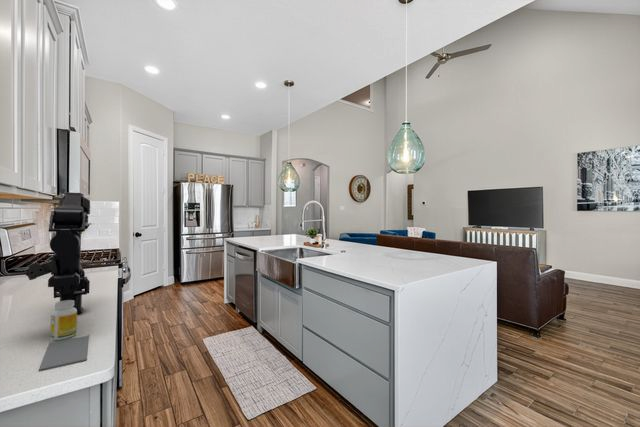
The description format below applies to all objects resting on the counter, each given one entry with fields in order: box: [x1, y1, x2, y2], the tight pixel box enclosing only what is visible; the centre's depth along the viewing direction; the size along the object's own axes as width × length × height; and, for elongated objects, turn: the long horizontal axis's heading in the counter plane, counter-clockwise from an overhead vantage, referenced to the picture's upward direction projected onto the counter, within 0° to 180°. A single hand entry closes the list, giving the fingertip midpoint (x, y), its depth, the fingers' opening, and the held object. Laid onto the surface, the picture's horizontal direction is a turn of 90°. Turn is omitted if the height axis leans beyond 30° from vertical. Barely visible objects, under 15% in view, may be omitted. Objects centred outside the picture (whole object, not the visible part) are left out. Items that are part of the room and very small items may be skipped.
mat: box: [38, 335, 90, 372], centre depth 70 cm, size 16×8×1 cm, turn 38°
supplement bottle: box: [49, 300, 78, 341], centre depth 79 cm, size 5×5×10 cm
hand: (66, 304), depth 83 cm, fingers closed
